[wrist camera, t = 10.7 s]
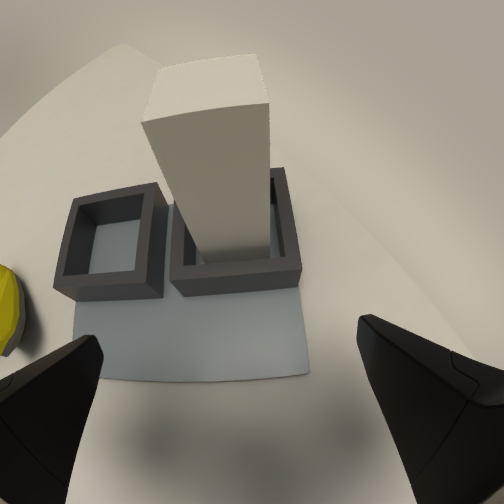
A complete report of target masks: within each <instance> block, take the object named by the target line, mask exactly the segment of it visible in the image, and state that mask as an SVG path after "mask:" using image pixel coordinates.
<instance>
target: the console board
mask: <svg viewBox="0 0 504 504" xmlns="http://www.w3.org/2000/svg"><path fill="white" fill-rule="evenodd" d="M301 272H302V263H301V257H300V251H299V245H298V239H297V233H296V227H295V222H294V216H293V211H292V205H291V200H290V195H289V190H288V185H287V180H286V175H285V170H284V167H282V168H270V258H265V259H254V260H243V261H233V262H222V263H211V264H205V263H204V261H203V259H202V257H201V255H200V253H199V251H198V249H197V246H196V244H195V242H194V240H193V238H192V236H191V234H190V232H189V230H188V228H187V226H186V223H185V221H184V219H183V217H182V215H181V213H180V211H179V208H178V206H177V204H176V202H175V200H174V204H171V205H168V204H167V202H166V200H165V198H164V196H163V194H162V192H161V190H160V188H159V186H158V183H157V182H154V183H148V184H143V185H137V186H132V187H126V188H121V189H116V190H111V191H106V192H101V193H96V194H92V195H87V196H83V197H79V198H74V199H73V202H72V206H71V209H70V212H69V216H68V220H67V223H66V227H65V231H64V235H63V239H62V243H61V248H60V252H59V257H58V262H57V267H56V272H55V278H54V284H53V288H54V289H55V290H57V291H59V292H60V293H62V294H64V295H66V296H67V297H69V298H71V299H73V300H74V301H76V305H75V315H74V327H73V341H74V340H76V339H78V338H79V337H81V336H83V335H86V334H87V335H95V336H96V337H97V339H98V342H99V344H100V346H101V349H102V351H103V354H104V361H103V365H102V369H101V373H100V377H99V378H108V379H120V380H134V381H155V382H216V381H237V380H252V379H265V378H275V377H284V376H293V375H301V374H308V373H310V371H309V362H308V354H307V345H306V337H305V329H304V321H303V314H302V306H301V299H300V292H299V285H298V283H299V279H300V276H301Z"/></svg>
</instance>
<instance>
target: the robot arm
mask: <svg viewBox="0 0 504 504" xmlns="http://www.w3.org/2000/svg"><path fill="white" fill-rule="evenodd" d="M356 338H357V345H358V348H359V351H360V354H361V357H362V360H363V364H364V367H365V370H366V374H367V377H368V380H369V382H370V385H371V387H372V389H373V392H374V394H375V396H376V398H377V401H378V403H379V405H380V408H381V410H382V413H383V415H384V417H385V420H386V422H387V425H388V427H389V429H390V432H391V434H392V437H393V439H394V442H395V444H396V447H397V449H398V452H399V455H400V457H401V460H402V462H403V465H404V468H405V470H406V473H407V476H408V479H409V481H410V484H411V487H412V490H413V493H414V496H415V499H416V502H417V504H504V370H500V369H498V368H495V367H492V366H489V365H486V364H483V363H480V362H478V361H475V360H472V359H470V358H468V357H465V356H463V355H460V354H458V353H456V352H454V351H450V350H449V349H447V348H445V347H443V346H440V345H438V344H436V343H434V342H432V341H429V340H427V339H425V338H423V337H421V336H418V335H416V334H414V333H412V332H409V331H407V330H405V329H403V328H401V327H398V326H396V325H394V324H392V323H390V322H388V321H385V320H383V319H381V318H379V317H377V316H374V315H372V314H368V315H362V316H360V317H359V320H358V328H357V337H356ZM103 361H104V354H103V351H102V349H101V346H100V344H99V342H98V339H97V337H96V336H95V335H87V334H86V335H83V336H81V337H79V338H78V339H76V340H74V341H72V342H70V343H68V344H66V345H64V346H63V347H61V348H59V349H57V350H55V351H53V352H51V353H50V354H48V355H46V356H44V357H42V358H40V359H38V360H37V361H35V362H33V363H31V364H29V365H27V366H25V367H24V368H22V369H20V370H18V371H16V372H15V373H12V374H11V375H9V376H7V377H5V378H3V379H1V380H0V504H65V502H66V497H67V492H68V487H69V483H70V478H71V474H72V470H73V466H74V462H75V458H76V455H77V451H78V447H79V444H80V440H81V437H82V434H83V430H84V427H85V424H86V421H87V417H88V414H89V411H90V408H91V405H92V402H93V399H94V396H95V393H96V389H97V385H98V381H99V377H100V373H101V369H102V365H103Z"/></svg>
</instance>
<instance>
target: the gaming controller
mask: <svg viewBox="0 0 504 504" xmlns="http://www.w3.org/2000/svg"><path fill="white" fill-rule="evenodd" d="M25 319H26V315H25V301H24V292H23V289H22V286H21V283H20V280H19V278H18V276H17V275H16V274H14V272H13V271H12V270H10V269H9V268H7V267H5V266H3V265H1V264H0V355H2V356H5V357H8V356H9V355H10V354H11V352H12V351H13V350H14V349H15V347H16V346H17V345H18V344H19V342H20V339H21V336H22V334H23V331H24V328H25Z"/></svg>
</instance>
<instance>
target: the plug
mask: <svg viewBox="0 0 504 504" xmlns="http://www.w3.org/2000/svg"><path fill="white" fill-rule="evenodd" d="M141 124H142V126H143V129H144V131H145V133H146V136H147V138H148V141H149V143H150V145H151V148H152V150H153V152H154V155H155V157H156V159H157V162H158V164H159V166H160V168H161V171H162V173H163V175H164V178H165V180H166V182H167V184H168V187H169V189H170V191H171V193H172V195H173V198H174V200H175V202H176V204H177V206H178V208H179V211H180V213H181V215H182V217H183V219H184V221H185V223H186V226H187V228H188V230H189V232H190V234H191V236H192V238H193V240H194V242H195V244H196V246H197V249H198V251H199V253H200V255H201V257H202V259H203V261H204V263H205V264H211V263H222V262H233V261H243V260H254V259H265V258H270V131H269V130H270V129H269V101H268V97H267V93H266V89H265V85H264V81H263V78H262V74H261V70H260V67H259V63H258V60H257V56H256V54H247V55H236V56H227V57H219V58H212V59H205V60H199V61H192V62H187V63H182V64H177V65H172V66H167V67H163V68H160V69H159V72H158V74H157V77H156V79H155V82H154V85H153V88H152V90H151V93H150V96H149V99H148V102H147V105H146V108H145V111H144V114H143V117H142V120H141Z"/></svg>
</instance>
